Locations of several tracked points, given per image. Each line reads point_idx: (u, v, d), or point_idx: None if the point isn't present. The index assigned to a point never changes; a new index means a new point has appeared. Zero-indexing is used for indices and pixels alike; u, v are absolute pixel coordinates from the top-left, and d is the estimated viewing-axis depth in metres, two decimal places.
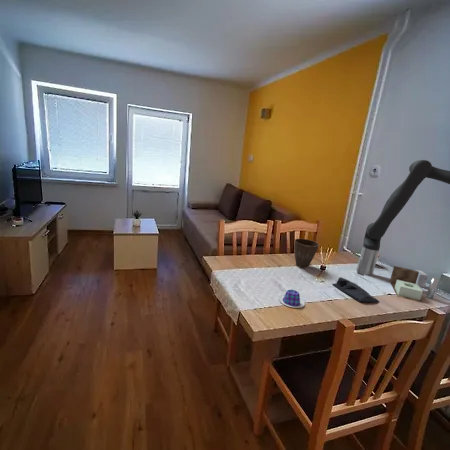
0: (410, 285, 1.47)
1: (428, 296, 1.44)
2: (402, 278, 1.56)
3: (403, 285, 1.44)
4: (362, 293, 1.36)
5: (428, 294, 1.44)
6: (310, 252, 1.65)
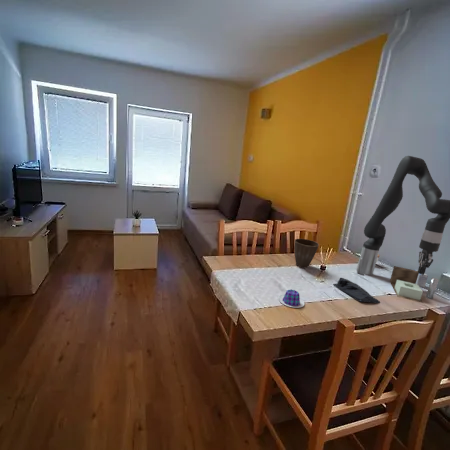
0: (410, 285, 1.47)
1: (428, 296, 1.44)
2: (402, 278, 1.56)
3: (403, 285, 1.44)
4: (363, 293, 1.36)
5: (428, 294, 1.44)
6: (310, 252, 1.65)
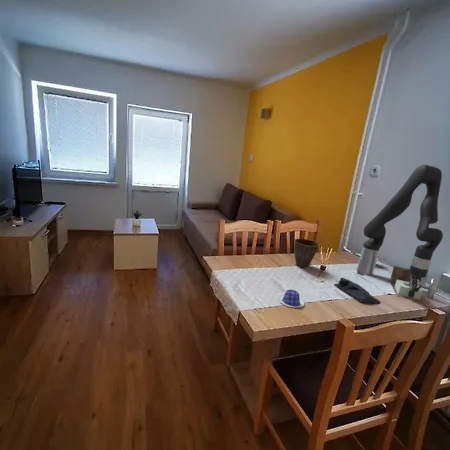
0: None
1: (428, 296, 1.44)
2: (402, 278, 1.56)
3: (403, 285, 1.45)
4: (363, 293, 1.35)
5: (428, 294, 1.44)
6: (310, 252, 1.65)
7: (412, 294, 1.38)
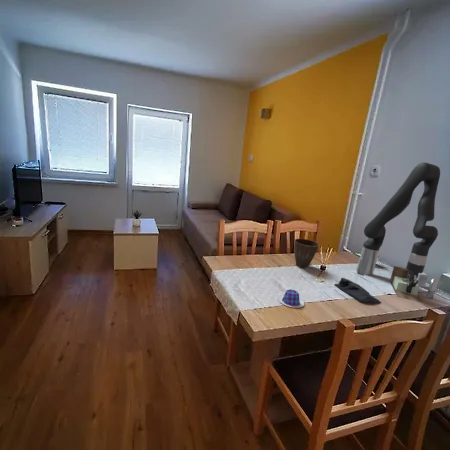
0: None
1: (428, 296, 1.44)
2: None
3: (401, 281, 1.50)
4: (364, 294, 1.35)
5: (428, 294, 1.44)
6: (310, 252, 1.65)
7: (409, 289, 1.43)
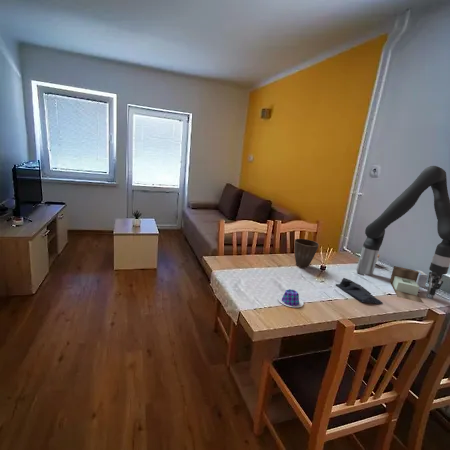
0: (407, 281, 1.53)
1: (428, 296, 1.44)
2: None
3: (401, 281, 1.50)
4: (365, 294, 1.35)
5: (428, 294, 1.44)
6: (310, 252, 1.65)
7: (433, 292, 1.41)
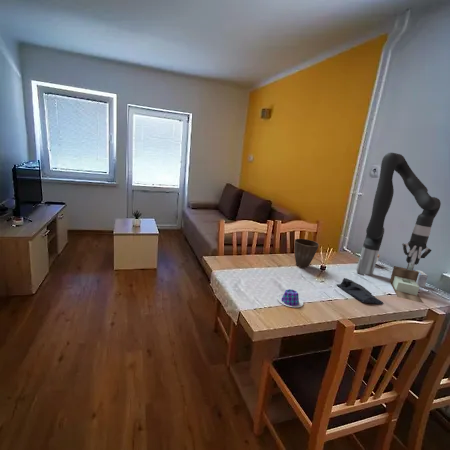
0: (407, 281, 1.53)
1: None
2: None
3: (401, 281, 1.50)
4: (366, 294, 1.35)
5: None
6: (310, 252, 1.65)
7: (406, 258, 1.49)
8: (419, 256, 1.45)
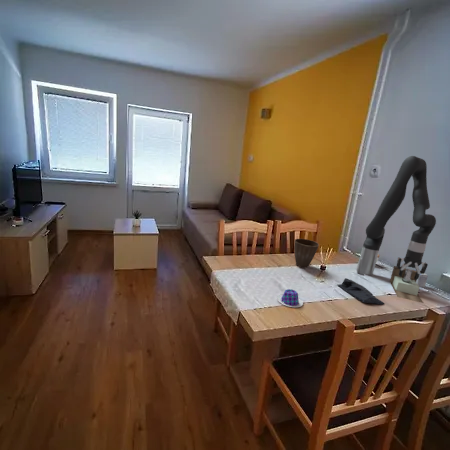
0: None
1: None
2: None
3: (401, 281, 1.50)
4: (366, 294, 1.35)
5: None
6: (310, 252, 1.65)
7: (399, 272, 1.51)
8: (418, 271, 1.47)
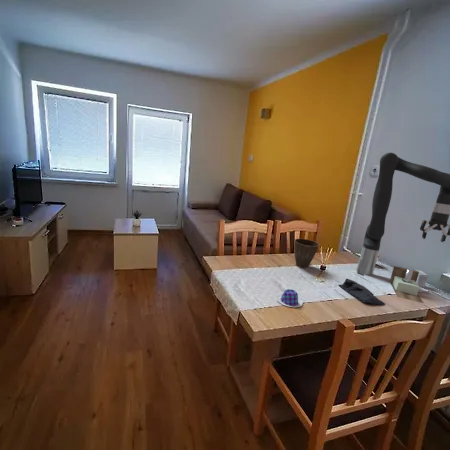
0: None
1: None
2: None
3: (401, 281, 1.50)
4: (367, 295, 1.35)
5: None
6: (310, 252, 1.65)
7: (422, 234, 1.52)
8: (445, 233, 1.47)
